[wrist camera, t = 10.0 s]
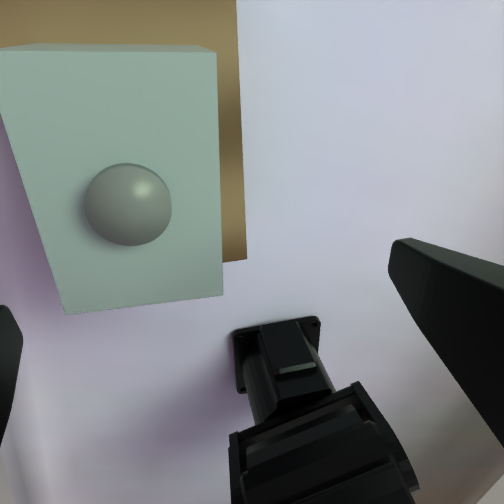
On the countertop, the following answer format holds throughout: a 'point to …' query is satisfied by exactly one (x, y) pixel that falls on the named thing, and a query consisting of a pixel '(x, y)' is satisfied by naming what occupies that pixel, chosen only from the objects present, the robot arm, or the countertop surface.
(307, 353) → the robot arm
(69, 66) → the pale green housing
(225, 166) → the walnut stand
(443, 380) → the countertop surface
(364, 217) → the countertop surface
